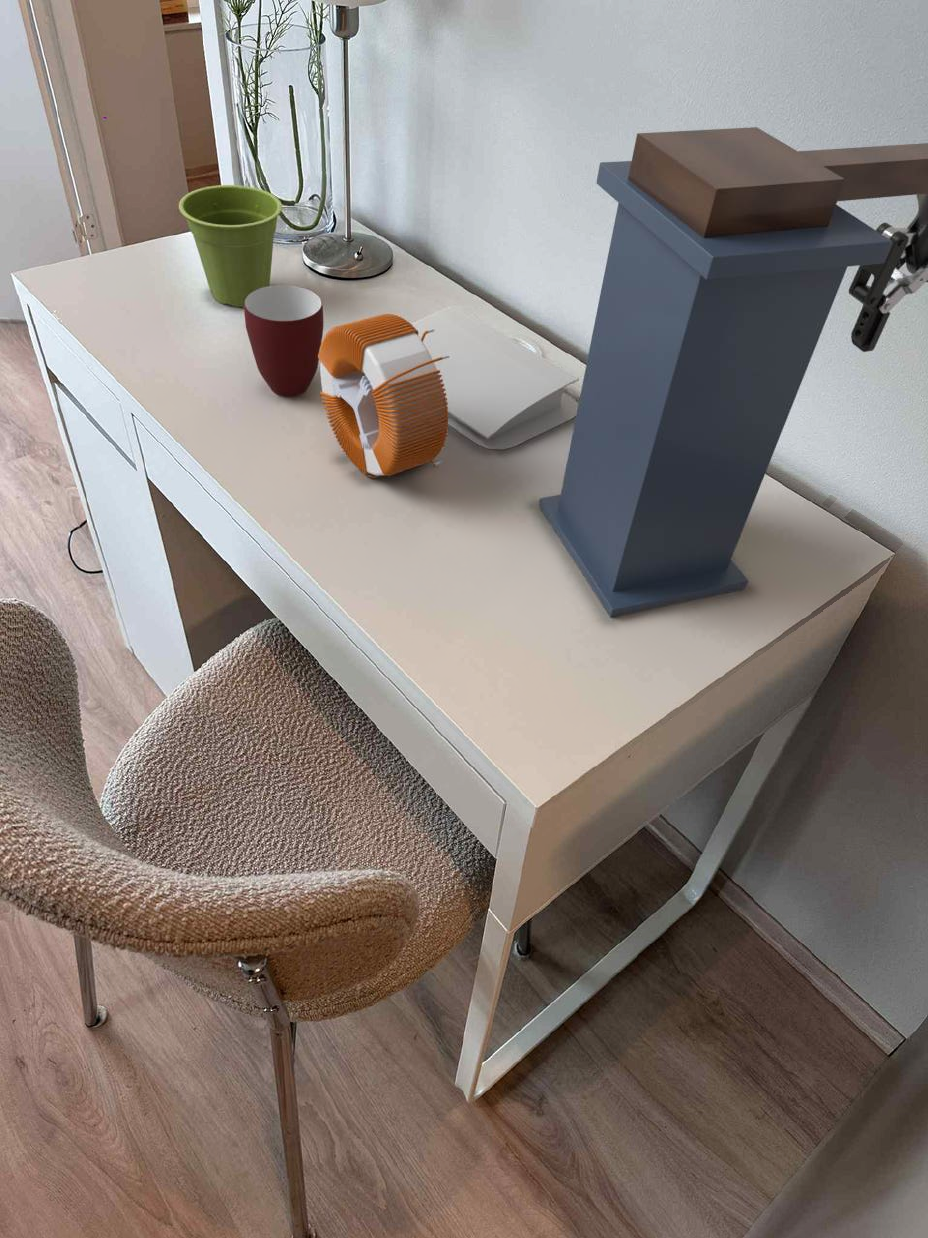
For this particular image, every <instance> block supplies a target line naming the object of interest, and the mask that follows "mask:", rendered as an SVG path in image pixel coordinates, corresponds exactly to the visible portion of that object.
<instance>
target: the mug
mask: <svg viewBox="0 0 928 1238" xmlns="http://www.w3.org/2000/svg"><path fill="white" fill-rule="evenodd" d="M243 311H244V312H243V313H244V323H245V329H246V334H247V336H248V341H249V344H250V347H251V351H252V354H253V357H254V361H255V363H256V367H257V370H258V371H259V374H260V376H261V377H262V379H263V380H264V382H265V383H266V385H267V386H268V387H269V389H270V390H271V391H272V392H273V394H275V395H278V396H280V397H286V398H293V397H299V396H301V395H303V394H305V392H307V390H308V389H309V387H310V386H311V384H312V382H313V380H314V377H315V376H316V373H317V371H318V368H319V362H320V360H319V358H318V354H319V349H320V346H321V343H322V340H323V334H324V307H323V300H322V299H321V297H320V296H319V295H318V294H317V293H316V292H314V291H312V290H310V289H307V288H305V287H302V286H297V285H290V284H276V285H270V286H267V287H263V288H260V289H257V290H255V291H253V292H251V293H250V294H249V295H248V296H247V297H246V298H245V300H244V307H243Z"/></svg>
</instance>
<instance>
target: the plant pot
mask: <svg viewBox="0 0 928 1238" xmlns="http://www.w3.org/2000/svg"><path fill="white" fill-rule="evenodd" d="M178 209H179V212H180V213H181V215H182V216H183V217H185V219H186V221H187V226H188V229H189V231H190V232H191V234H192V236H193V238H194V242H195V246H196V248H197V252H198V255H199V258H200V261H201V265H202V268H203V271H204V275H205V279H206V281H207V285H208V288H209V292H210V294H211V297H212V298H213V299H214V300H215V301H216V302H218V303H219V304H222V305H224V304H228V305H231V306H233V307H238V308H242V307H243V308H244V300H245V298H246V297H247V296H248V295H249V294H250V293H251V292H253V291H255V290H257V289H260V288H263V287H267V286H271V277H272V276H271V275H272V264H273V263H272V262H273V261H272V260H273V251H274V239H275V233H276V230H277V222H278V217H279V215H280V214H281V212H282V209H283V205H282V202H281V200H280V199H279V198H278V197H277V196H275V195H274V194H273V193H271V192H269V191H267V190H264V189H261V188H257V187H254V186H248V185H237V184H219V185H211V186H205V187H201V188H198V189H194V190H193V191H190V192H188V193H187V194H185V195H184V196H182V198H181V199H180V200H179V202H178Z"/></svg>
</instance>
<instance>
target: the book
mask: <svg viewBox="0 0 928 1238" xmlns="http://www.w3.org/2000/svg"><path fill="white" fill-rule="evenodd" d="M410 324H411V325H413V327H415V328H416V330H418V336H419V337H420V339H421V338H422V335H423V333H424V332H425V331H427V330H430V329H434V332H430V333H427V334H426V335H425V338H424V340H423V343H424V345H425V346H426V348H427V350H428V351H429V353H430V355H431V358H432V360H433V359H436V358H439V357H443V356H446V355H449V358H446V359H442V360H439V361H436V362H434V364H435V366H436V369H437V370H440V373H438V375H442V377H440V379H443V382H441V384H444V387H442V388H445V389H446V390H445V391H444V392H443V393H446V396H445V397H446V398H447V400H446V402H448V405H447V406H448V412H449V413H448V416H449V418H448V420H449V422H448V426H450V427H451V428H453V429H454V430H455V431H457V432H459V433H460V434H462V435H463V436H464V437H466V438H467V439H469V440H470V441H471V442H473V443H474V444H476V445H478V446H480V447H483V448H485V449H488V450H500V451H501V450H502V451H503V450H507V449H510V448H511V449H512V448H514V447H517V446H518V445H521V444H523V443H525V442H527V441H529V440H532V439H533V438H535V437H537V436H539V435H542V434H544V433H546V432H548V431H550V430H551V429H554V428H555V427H557V426H560V425H562V424H564V423H566V422H568V421H570V420H572V419H574V418H576V414H577V409H578V404H579V402H578V401H576V400H575V399H574V398H573V397H572V396H570V395H569V394H567V393H565V392H564V388H566V387H568V386H570V385H572V384H574V383H577V382H579V380H580V378H578V377H576V376H575V375H574V374H572V373H569V372H568V371H567V370H565V369H563V368H562V367H560V366H558V365H556V364H555V363H553V362H551V361H549V360H548V359H546V358H545V357H543V356H541V355H540V354H538V353H536V352H534V351H533V350H531V349H530V348H528V347H526V346H524V345H523V344H521V343H519V342H518V341H516V340H515V339H513V338H511V337H509V336H508V335H506V334H504V333H503V332H502V331H499V330H497V329H496V328H494V327H492V326H491V325H489V324H488V323H486V322H484V321H482V320H480V319H479V318H477V317H475V316H474V315H473V314H471V313H469V312H467V311H465V310H464V309H462V308H461V307H458V306H457V305H455V304H452V305H449V306H447V307H444V308H441V309H439V310H437V311H434V312H432V313H430V314H428V315H425V316H424V317H421V318H419V319H417V320H415V321H414V322H410Z"/></svg>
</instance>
